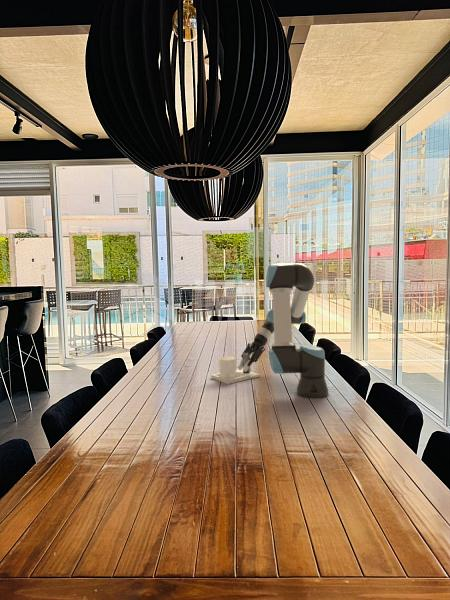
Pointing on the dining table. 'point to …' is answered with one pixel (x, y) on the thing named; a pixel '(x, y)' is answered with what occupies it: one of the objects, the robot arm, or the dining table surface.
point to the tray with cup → (238, 373)
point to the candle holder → (227, 367)
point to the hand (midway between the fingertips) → (241, 369)
